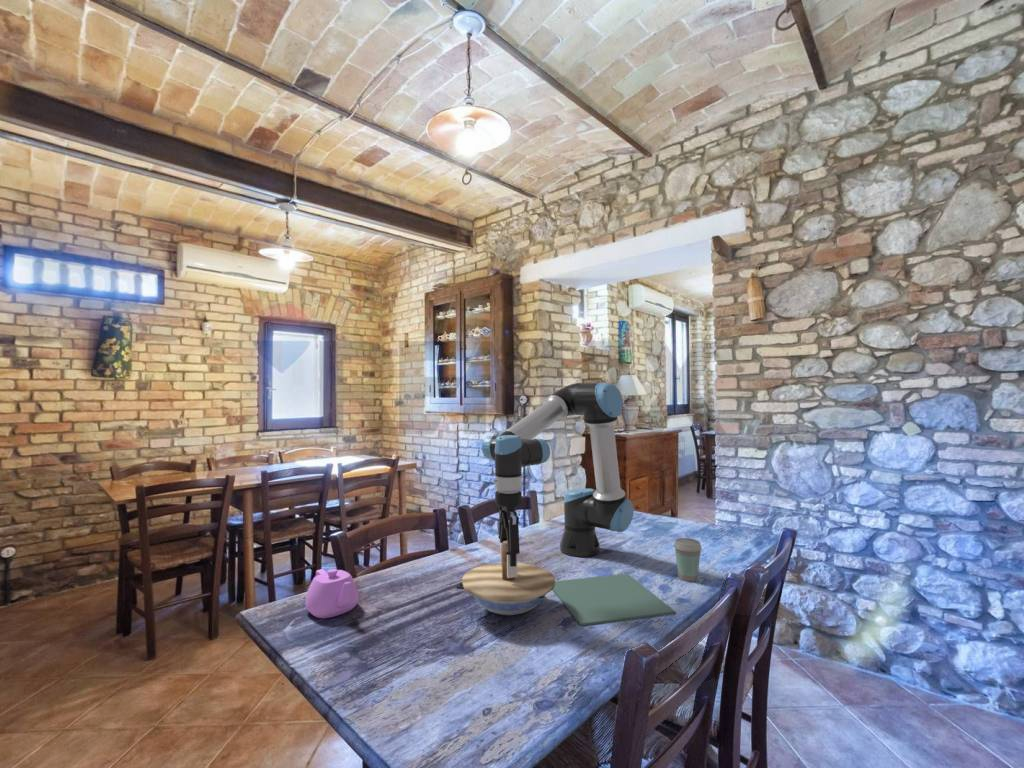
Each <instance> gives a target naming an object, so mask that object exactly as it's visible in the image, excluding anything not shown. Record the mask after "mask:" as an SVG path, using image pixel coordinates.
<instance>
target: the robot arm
mask: <svg viewBox="0 0 1024 768" xmlns="http://www.w3.org/2000/svg"><path fill="white" fill-rule="evenodd" d="M622 396H623V395H622V393H621V391H620V389H619V388H618V387H617V386H616V385H615V384H613V383H609V382H607V383H606V382H583V383H582V382H576V383H571V384H568V385H566V386H564V387H562V388H560V389H558V390H557V391H555V392H553V393H552V394H550V395H549V396H547V398H546V400H545V401H544V403H543V404H541V405H540V406H538V407H537V408H536V409H534V410H532V411H531V412H529V414H528V415H526V416H525V417H523V418H522V419H520V420H519V421H517V422H515V423H514V424H513V425H511V426H510V427H509V428H507V429H506V430H505V431H503V432H501V434H499V435H490V436H486V437H485V438H484V439H483V442H482V443H481V452H482V454H483V455H482V456H484V457H485V458H486V459H488V460H492V461H494V469H495V470H494V471H495V472H494V475H495V479H493V483H494V484H495V486H494V488H495V490H496V491H495V492H494V496H495V497H494V502H495V505H496V506H498V513H499V515H498V516H499V517H498V518H499V519H498V539H499V542H500V551H499V552H500V553H499V554H500V561H499V563H500V566H501V567H502V542H503V541H507V544H508V552H506V555H507V578H513V577H517V563H518V555H519V554H520V552H521V551H520V533H519V532H520V530H519V529H520V528H519V525H520V523H519V521H520V517H519V516H518V513H517V511H516V507H518V506H521V505H522V501H523V497H522V494H523V493H522V491H521V490H522V489H523V474H522V473H523V472H522V470H523V468H524V467H531V466H539V465H541V464H544V463H546V462H547V461H548V460H549V458H550V456H551V447H550V445H549V443H548V441H546V440H545V439H542V438H536V437H537V436H539V435H540V434H542V432H544V431H545V430H547V429H548V428H549V427H550V426H553V424H554V423H555V422H557V421H558V420H559V421H561V420H564V419H566V418H567V417H570V416H575V415H576V416H583V421H584V424H585V425H586V426H588V427H589V435H590V444H591V451H592V452H591V453H592V463H593V470H594V480H595V487H596V489H594V488H576V489H570V490H567V491H565V493H564V501H563V504H564V505H563V506H564V510H563V511H564V518H563V519H564V530H563V533H562V536H561V540H560V543H559V551H560V552H561V553H563V554H565V555H566V556H573V557H579V558H580V557H581V558H584V557H592V556H593V557H594V556H596V555H599V553H600V552H601V545H600V542H599V538H598V535H597V532H596V528H598V529H602V530H607V531H611V532H618V533H623V532H625V531H627V529H629V527H630V526H631V524H632V521H633V517H634V511H635V508H634V503H633V502H632V501H631V500H629V499H627V496H626V495H627V494H626V492H625V490H623V489H622V488H621V481H620V480H621V479H620V471H619V470H620V469H619V462H618V452H617V441H616V433H615V424H616V422H618V419H619V418H618V417H619V416H620V415H621V413H622V411H623V408H624V407H623V406H624V400H623V397H622ZM513 549H514V550H513Z"/></svg>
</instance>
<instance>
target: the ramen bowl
mask: <svg viewBox="0 0 1024 768" xmlns="http://www.w3.org/2000/svg"><path fill="white" fill-rule="evenodd" d="M456 589H459V590H465V589H464V588H463V585H462V582H459V585H456ZM546 595H547V594H545V595H543V596H540V597H537V598H534V599H529V600H522V601H496V600H489V599H484V598H480V597H477V596H475V595H472V597H473V598H474V600H475V601H476V602H477V604H479V606H480V607H482V608H484V609H485V610H487V611H489V612H491V613H494V614H497V615H502V616H516V615H520V614H524V613H527V612H529V611H532V609H534V608H536V607H537V606H538V605H539V604H540V603H541V602H542V601H543V599H545V600H546V599H547V596H546Z"/></svg>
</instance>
